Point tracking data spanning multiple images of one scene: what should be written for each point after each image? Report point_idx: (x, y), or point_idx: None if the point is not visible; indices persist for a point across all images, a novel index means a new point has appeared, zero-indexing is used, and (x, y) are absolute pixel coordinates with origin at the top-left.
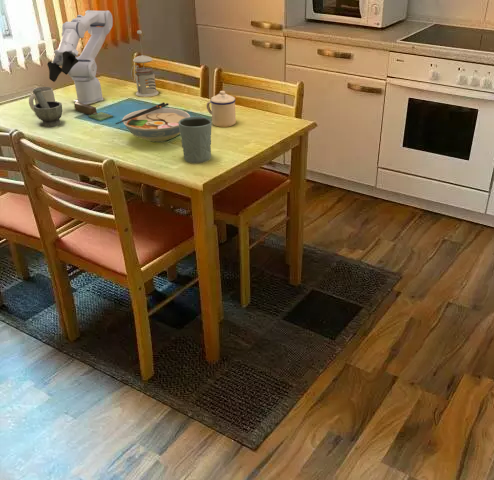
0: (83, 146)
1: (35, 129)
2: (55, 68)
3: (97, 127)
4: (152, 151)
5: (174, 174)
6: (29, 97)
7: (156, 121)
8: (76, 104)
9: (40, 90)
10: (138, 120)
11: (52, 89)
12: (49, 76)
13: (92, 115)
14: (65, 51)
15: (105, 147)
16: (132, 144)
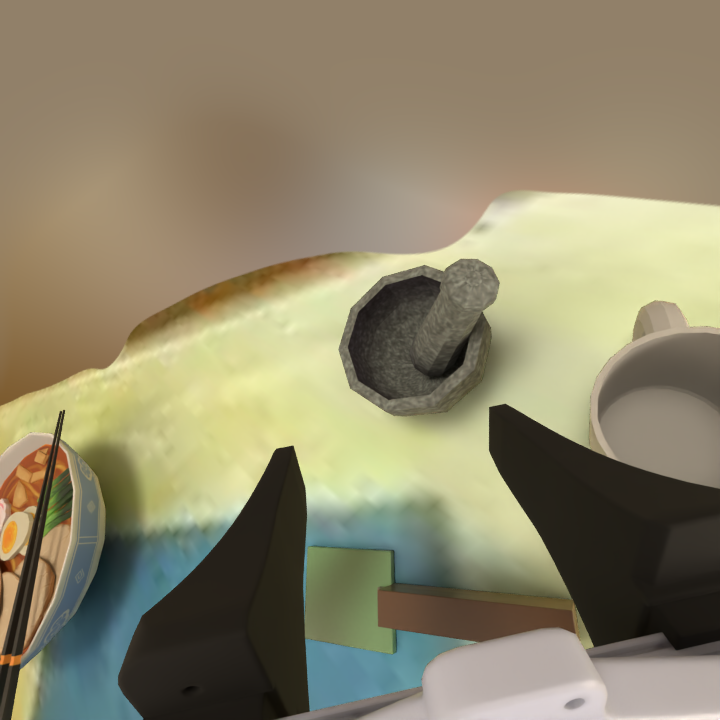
0: (197, 350)
1: None
2: (587, 550)
3: None
4: None
5: (13, 412)
6: (666, 302)
7: (15, 543)
8: (539, 606)
9: (447, 302)
10: (59, 516)
11: None
12: (515, 412)
13: (377, 569)
14: (143, 644)
15: (154, 391)
16: (116, 458)
